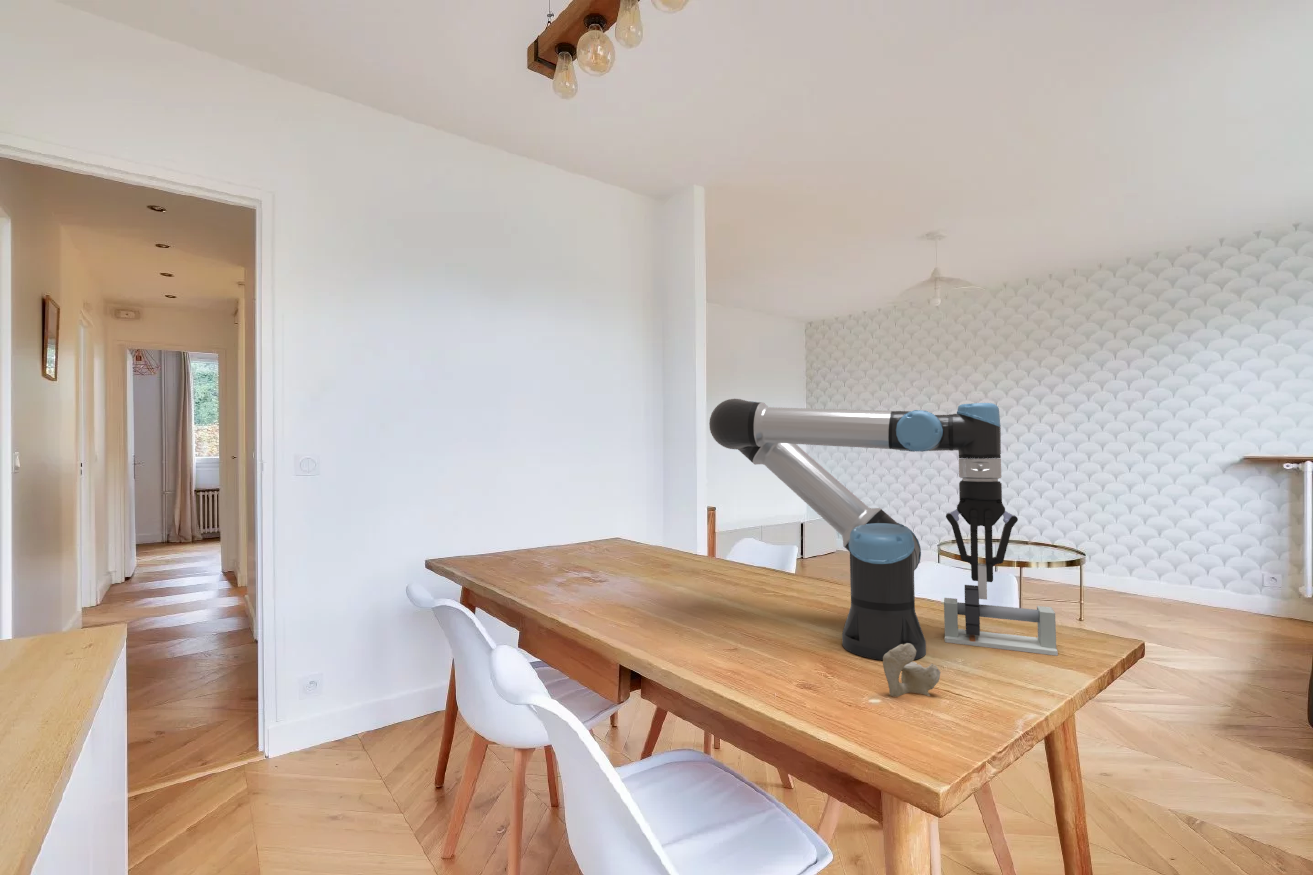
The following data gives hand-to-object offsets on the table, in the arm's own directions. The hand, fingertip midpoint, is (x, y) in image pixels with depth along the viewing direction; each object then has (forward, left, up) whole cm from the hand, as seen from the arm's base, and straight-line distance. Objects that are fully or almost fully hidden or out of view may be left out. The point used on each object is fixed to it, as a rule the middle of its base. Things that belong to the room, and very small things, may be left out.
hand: (982, 597), depth 118 cm
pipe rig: (+2, 0, -9) cm, 9 cm away
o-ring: (-2, 0, -7) cm, 7 cm away
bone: (-12, -33, -9) cm, 36 cm away
